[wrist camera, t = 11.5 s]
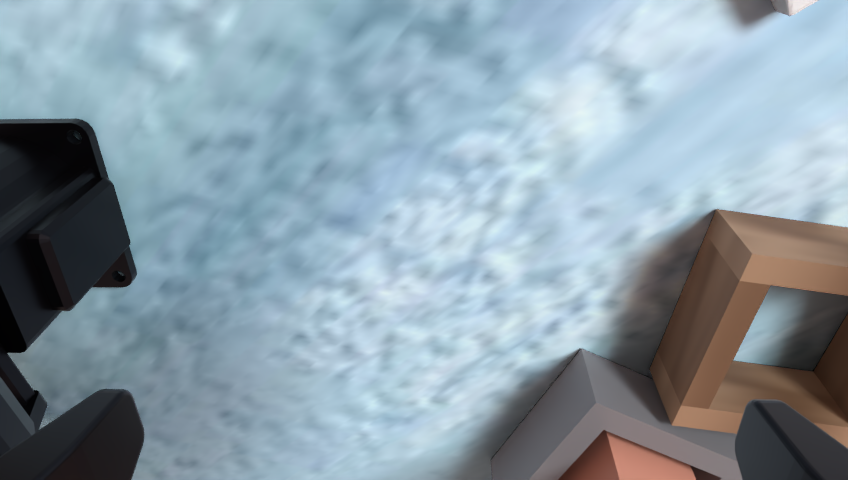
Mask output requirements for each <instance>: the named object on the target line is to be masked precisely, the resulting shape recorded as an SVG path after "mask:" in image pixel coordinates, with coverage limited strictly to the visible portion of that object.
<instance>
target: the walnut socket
mask: <svg viewBox="0 0 848 480" xmlns="http://www.w3.org/2000/svg"><path fill="white" fill-rule="evenodd" d="M770 285H773V286H781V287H788V288H795V289H802V290H810V291H817V292H824V293H831V294H839V295H846V296H848V228H846V227H839V226H832V225H825V224H818V223H811V222H804V221H797V220H790V219H783V218H775V217H768V216H761V215H754V214H747V213H740V212H733V211H726V210H719V209H716V211H715V214H714V216H713V218H712V221H711V223H710V226H709V228H708V230H707V233H706V235H705V238H704V240H703V242H702V245H701V247H700V250H699V252H698V254H697V257H696V259H695V261H694V264H693V266H692V269H691V271H690V273H689V276H688V278H687V281H686V283H685V285H684V288H683V290H682V293H681V295H680V297H679V300H678V302H677V305H676V307H675V309H674V312H673V314H672V317H671V319H670V321H669V324H668V326H667V329H666V331H665V333H664V336H663V338H662V340H661V343H660V345H659V348H658V350H657V352H656V355H655V357H654V360H653V362H652V364H651V367H650V369H649V370H650V372H651V375H652V377H653V380H654V382H655V385H656V387H657V390H658V392H659V395H660V397H661V400H662V402H663V405H664V407H665V410H666V412H667V415H668V417H669V420H670V422H671V425H673V426H681V427H688V428H696V429H704V430H711V431H719V432H727V433H734V434H737V432H738V429H739V425H740V422H741V419H742V416H743V413H744V410H745V407H746V405H747V403H748V402H749V401H750V400H753V399H776V400H781V401H783V402H785V403H786V404H788V405H789V406H790V407H792V408H793V409H795V410H796V411H797V412H799V413H800V414H801V415H803V416H804V417H805V418H807V419H808V420H810V421H811V422H812V423H814V424H815V425H816V426H818V427H819V428H821V429H822V430H823V431H825V432H826V433H827V434H829V435H830V436H832V437H833V438H834V439H836V440H837V441H838V442H840V443H841V444H842V445H844V446H845V447H847V448H848V314H847V316H846V317H845V319H844V321H843V322H842V324H841V326H840V327H839V329H838V331H837V332H836V334H835V336H834V338H833V339H832V341H831V343H830V344H829V346H828V348H827V349H826V351H825V353H824V354H823V356H822V358H821V359H820V361H819V363H818V364H817V366H816V368H815V370H814V371H806V370H798V369H791V368H783V367H776V366H768V365H761V364H753V363H746V362H738V361H733V359H734V357H735V355H736V353H737V351H738V349H739V347H740V345H741V343H742V341H743V339H744V337H745V335H746V333H747V331H748V329H749V327H750V325H751V323H752V321H753V319H754V317H755V315H756V313H757V311H758V309H759V307H760V305H761V303H762V301H763V299H764V297H765V295H766V293H767V291H768V289H769V287H770Z"/></svg>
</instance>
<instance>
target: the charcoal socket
mask: <svg viewBox="0 0 848 480" xmlns="http://www.w3.org/2000/svg"><path fill="white" fill-rule="evenodd" d="M603 430H605V431H608V432H610V433H613V434H615V435H618V436H620V437H622V438H625V439H627V440H630V441H632V442H635V443H637V444H640V445H642V446H645V447H647V448H649V449H652V450H654V451H657V452H659V453H662V454H664V455H667V456H669V457H671V458H674V459H676V460H679V461H681V462H684V463H686V464H689V465H690V466H691V468H692V471H693V473H694V476H695V478H696V480H743V479H742V476H741V473H740V469H739V466H738V462H737V459H736V455H735V438H736V435H737V434H734V433H727V432H719V431H711V430H704V429H696V428H688V427H681V426H673V425H671V422H670V420H669V417H668V415H667V412H666V410H665V407H664V405H663V402H662V400H661V397H660V395H659V392H658V390H657V387H656V385H655V382H654V380H653V379H651V378H649V377H646V376H644V375H642V374H639V373H637V372H635V371H632V370H630V369H628V368H625V367H623V366H621V365H619V364H616V363H614V362H612V361H609V360H607V359H605V358H602V357H600V356H598V355H596V354H593V353H591V352H589V351H586V350H584V349H582V348H581V350H580V351H579V352H578V353H577V354H576V356H575V357H574V358H573V359H572V361H571V362H570V363H569V364H568V366H567V367H566V368H565V369H564V370H563V372H562V373H561V374H560V375H559V377H558V378H557V379H556V380H555V382H554V383H553V384H552V385H551V387H550V388H549V389H548V390H547V391H546V393H545V394H544V395H543V396H542V398H541V399H540V400H539V401H538V403H537V404H536V405H535V406H534V407H533V409H532V410H531V411H530V412H529V414H528V415H527V416H526V417H525V419H524V420H523V421H522V422H521V423H520V425H519V426H518V427H517V428H516V430H515V431H514V432H513V433H512V435H511V436H510V437H509V438H508V440H507V441H506V442H505V443H504V444H503V446H502V447H501V448H500V449H499V451H498V452H497V453H496V454H495V456H494V457H493V458H492V459H491V471H492V480H558V479H559V478H560V477H561V476H562V475H563V474H564V473H565V472H566V470H567V469H568V468H569V467H570V466H571V465H572V464H573V463H574V462H575V461H576V460H577V458H578V457H579V456H580V455H581V454H582V453H583V452H584V451H585V450H586V449H587V448H588V446H589V445H590V444H591V443H592V442H593V441H594V440H595V439H596V438H597V437H598V436H599V434H600V433H601V432H602V431H603Z"/></svg>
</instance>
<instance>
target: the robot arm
mask: <svg viewBox="0 0 848 480" xmlns="http://www.w3.org/2000/svg"><path fill="white" fill-rule="evenodd" d="M73 130H75V131H77V132H78V133H80V135H81V137H82V140H79V139H78V138H76V137H75V136H74V134H73ZM129 245H130V239H129V235H128V232H127V229H126V225H125V222H124V219H123V215H122V212H121V209H120V205H119V202H118V199H117V195H116V192H115V188H114V185H113V183H112V182H111V181H110V180H109V178H108V175H107V171H106V168H105V165H104V161H103V158H102V155H101V151H100V148H99V145H98V141H97V138H96V135H95V132H94V130H93V128H92V127H91V126H90V125H89V124H88V123H87V122H85V121H83V120H80V119H0V480H131V479H132V476H133V473H134V470H135V467H136V464H137V461H138V458H139V455H140V452H141V449H142V446H143V442H144V428H143V424H142V421H141V419H140V416H139V413H138V410H137V407H136V404H135V401H134V398H133V396H132V394H131V393H130V392H129V391H128V390H124V389H103V390H99V391H97V392H95V393H94V394H92V395H91V396H89V397H88V398H86V399H85V400H83V401H82V402H80V403H79V404H77V405H76V406H74V407H73V408H71V409H70V410H68V411H67V412H65V413H64V414H62V415H61V416H60V417H58V418H57V419H55V420H54V421H52V422H51V423H49V424H48V425H46V426H45V427H43V428H42V429H40V430H39V427H40V424H41V422H42V419H43V416H44V413H45V410H46V407H47V403H46V401H45V400H44V398H43V397H42V395H41V394H40V393H39V391H37V390H33V389H32V388H31V386H30V385H29V384H28V382H27V381H26V379H25V378H24V376H23V375H22V374H21V372H20V371H19V369H18V368H17V367H16V365H15V364H14V362H13V361H12V360H11V358H10V357H9V355H8V354H7V353H21V352H25V351H26V350H27V349H28V347H29V346H30V345H31V344H32V343H33V342H34V341H35V340H36V339H37V338H38V337H39V335H40V334H41V333H42V332H43V331H44V330H45V329H46V328H47V327H48V326H49V325H50V323H51V322H52V321H53V320H54V319H55V318H56V317H57V316H58V315H59V314H60V313H61V312H62V311H70V310H72V309H73V308H74V307H75V305H76V304H77V303H78V302H79V301H80V300H81V299H82V298H83V296H84V295H85V294H86V293H87V292H88V291H89V290H90V289H91V288H92V287H127V286H128V285H130V284H131V283H132V282H133V280H134V279H135V277H136V275H137V271H136V267H135V264H134V261H133V257H132V254H131V251H130V247H129ZM118 271H121V272H122V273H124V275H125V276H122V275H120V274H119V273H118ZM38 430H39V431H38ZM735 455H736V459H737V462H738V466H739V469H740V473H741V476H742V479H743V480H848V448H847V447H845V446H844V445H842V444H841V443H840V442H838V441H837V440H836V439H834V438H833V437H832V436H830V435H829V434H827V433H826V432H825V431H823V430H822V429H821V428H819V427H818V426H816V425H815V424H814V423H812V422H811V421H810V420H808V419H807V418H805V417H804V416H803V415H801V414H800V413H799V412H797V411H796V410H795V409H793V408H792V407H790V406H789V405H788V404H786V403H785V402H783V401H781V400H776V399H753V400H750V401H749V402H748V403H747V405H746V407H745V410H744V413H743V416H742V419H741V422H740V425H739V429H738V432H737V435H736V438H735Z"/></svg>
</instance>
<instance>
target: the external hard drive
mask: <svg viewBox="0 0 848 480" xmlns="http://www.w3.org/2000/svg"><path fill="white" fill-rule="evenodd" d="M816 1H818V0H771V2H772V5H773V7H774V9H775V10H776V11H777V12H779V13H783V14H786V15H788V16H791V15H794V14H796V13H798V12H799V11H801V10H803V9H804V8H806V7H808V6H810V5H811V4H813V3H815V2H816Z"/></svg>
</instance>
